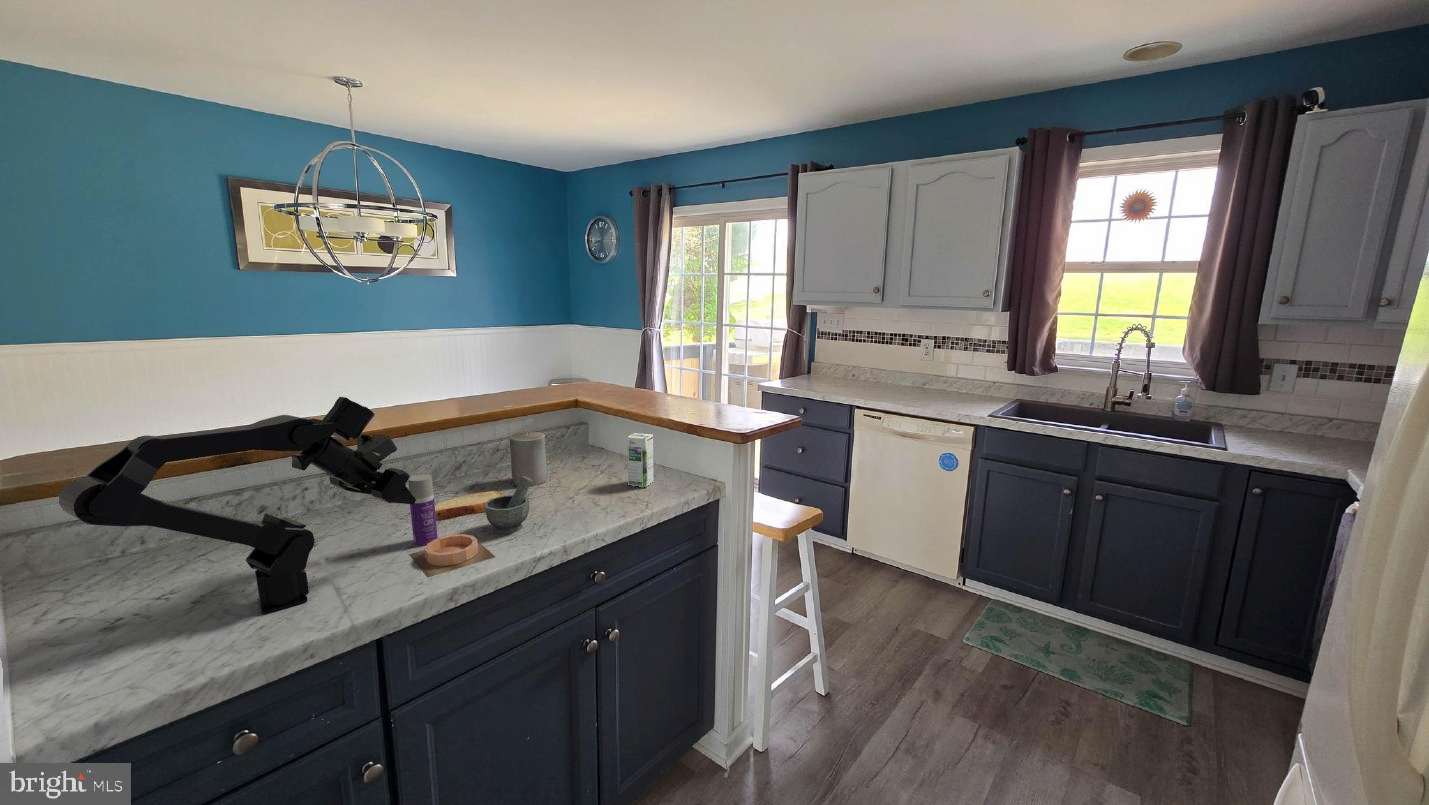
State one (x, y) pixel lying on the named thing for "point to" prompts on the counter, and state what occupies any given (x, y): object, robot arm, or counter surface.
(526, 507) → the mortar and pestle
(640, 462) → the syrup box
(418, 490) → the container
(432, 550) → the terracotta dish
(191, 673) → the counter surface
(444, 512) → the bread slice
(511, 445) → the pillar candle
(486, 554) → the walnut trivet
